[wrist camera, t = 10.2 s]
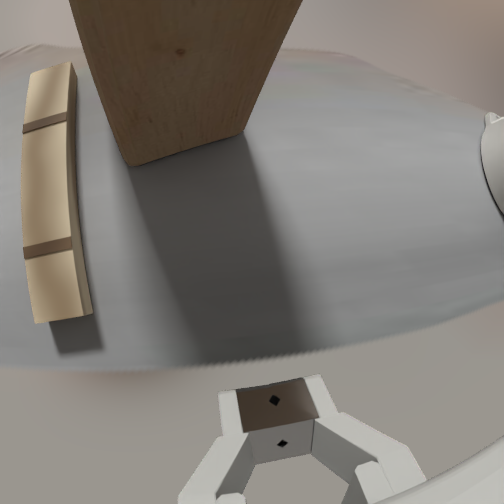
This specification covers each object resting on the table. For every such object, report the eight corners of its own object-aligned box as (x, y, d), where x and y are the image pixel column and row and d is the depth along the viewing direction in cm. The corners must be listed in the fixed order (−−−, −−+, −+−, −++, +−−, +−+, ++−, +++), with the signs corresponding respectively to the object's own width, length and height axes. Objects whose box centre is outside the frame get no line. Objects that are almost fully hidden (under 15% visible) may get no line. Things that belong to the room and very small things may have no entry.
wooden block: (128, 174, 23) (51, -56, 4) (103, 80, 24) (63, -115, 4) (246, 137, 26) (354, -74, 6) (208, 51, 26) (252, -137, 7)
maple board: (77, 76, 23) (70, 60, 21) (93, 313, 22) (83, 315, 19) (39, 87, 22) (30, 72, 20) (48, 320, 21) (34, 323, 18)
